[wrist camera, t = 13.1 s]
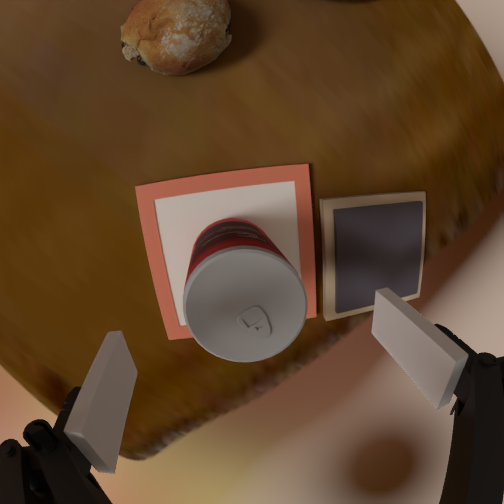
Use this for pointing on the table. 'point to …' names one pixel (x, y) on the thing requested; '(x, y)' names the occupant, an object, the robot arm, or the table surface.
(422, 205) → the ink pad
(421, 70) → the table surface
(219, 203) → the print sheet
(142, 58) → the bread roll
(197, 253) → the canned food
